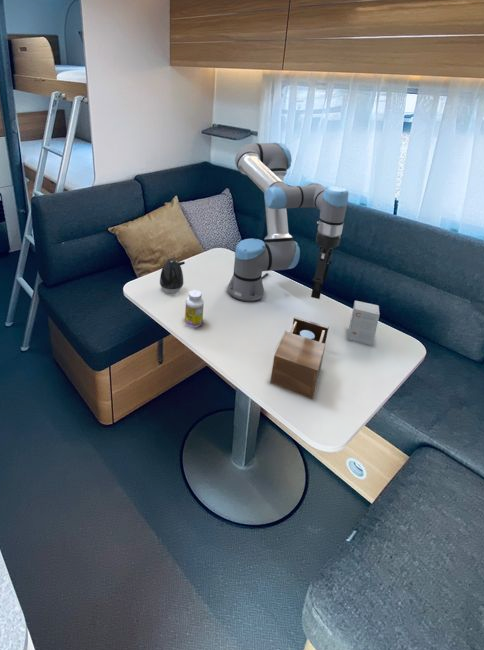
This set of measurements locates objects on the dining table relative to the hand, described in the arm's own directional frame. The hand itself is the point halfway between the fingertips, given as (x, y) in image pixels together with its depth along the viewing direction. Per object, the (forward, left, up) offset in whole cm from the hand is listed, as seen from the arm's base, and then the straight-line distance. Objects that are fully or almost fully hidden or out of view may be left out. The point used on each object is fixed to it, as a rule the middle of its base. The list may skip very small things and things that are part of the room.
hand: (318, 288), depth 143 cm
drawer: (+12, 0, -18) cm, 21 cm away
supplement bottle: (+17, -40, -19) cm, 47 cm away
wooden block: (+26, 0, -19) cm, 32 cm away
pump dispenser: (+1, -58, -19) cm, 61 cm away
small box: (-6, +16, -19) cm, 26 cm away
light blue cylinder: (+13, 0, -17) cm, 21 cm away
